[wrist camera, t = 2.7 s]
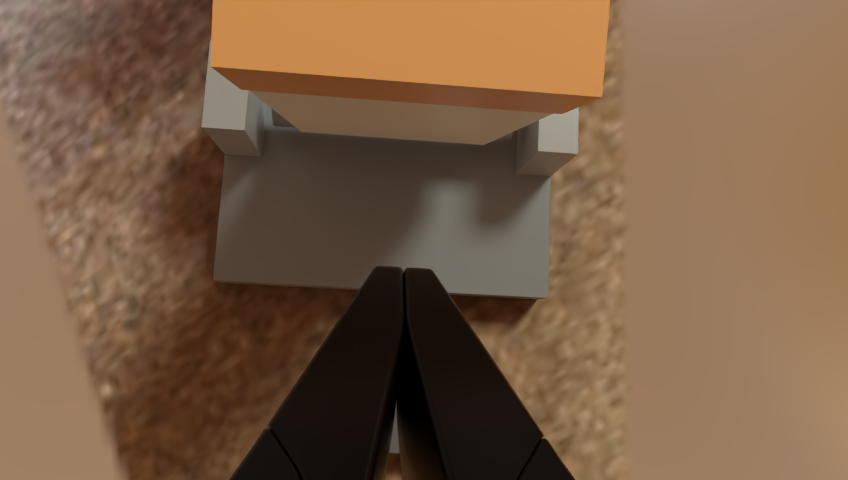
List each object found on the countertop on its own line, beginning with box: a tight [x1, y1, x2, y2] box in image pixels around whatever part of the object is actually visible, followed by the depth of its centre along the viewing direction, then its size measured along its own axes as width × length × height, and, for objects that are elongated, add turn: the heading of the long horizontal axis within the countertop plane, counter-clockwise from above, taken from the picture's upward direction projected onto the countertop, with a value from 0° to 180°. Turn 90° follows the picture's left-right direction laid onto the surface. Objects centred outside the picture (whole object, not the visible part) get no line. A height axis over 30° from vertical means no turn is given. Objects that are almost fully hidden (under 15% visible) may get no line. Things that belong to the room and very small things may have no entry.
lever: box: [210, 0, 610, 145], centre depth 13 cm, size 2×7×11 cm, turn 87°
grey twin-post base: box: [202, 40, 579, 299], centre depth 19 cm, size 12×10×4 cm
